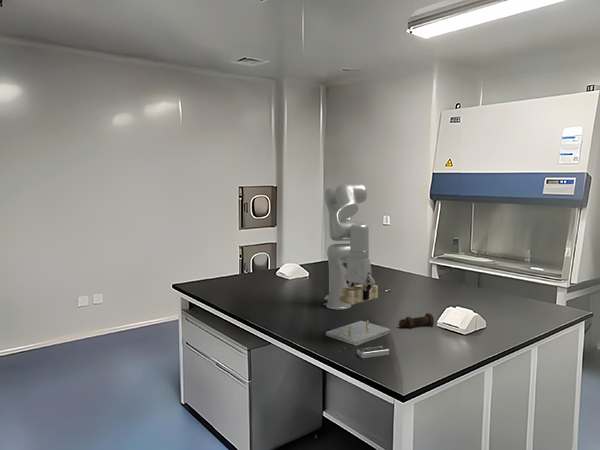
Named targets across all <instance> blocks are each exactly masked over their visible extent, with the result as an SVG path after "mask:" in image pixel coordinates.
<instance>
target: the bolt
mask: <svg viewBox="0 0 600 450" xmlns="http://www.w3.org/2000/svg"><path fill="white" fill-rule="evenodd" d="M424 315H425V316H420V317H419V316H418V317H411V316H406V317H405V318H404V319H400V320H399V321H398V326H399V327H400V328H406V327H407V328H409V329H411V328H413V327H414V326H422V325H428V326H429V327H433V325H434V324H435V318H434V316H433V314H432V313H429V312H427V313H425V314H424Z"/></svg>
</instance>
